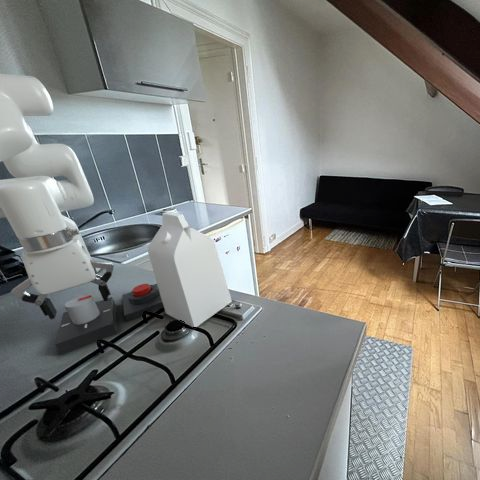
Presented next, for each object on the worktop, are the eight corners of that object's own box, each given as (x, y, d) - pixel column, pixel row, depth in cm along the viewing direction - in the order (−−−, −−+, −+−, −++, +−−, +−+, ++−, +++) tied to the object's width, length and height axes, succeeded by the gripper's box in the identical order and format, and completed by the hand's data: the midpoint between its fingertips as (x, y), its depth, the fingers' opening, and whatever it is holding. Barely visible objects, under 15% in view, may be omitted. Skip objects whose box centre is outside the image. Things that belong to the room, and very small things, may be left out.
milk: (232, 301, 71) (210, 209, 61) (194, 328, 62) (162, 225, 52) (203, 290, 77) (180, 205, 66) (165, 313, 68) (131, 218, 57)
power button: (134, 292, 72) (131, 287, 71) (150, 287, 74) (148, 282, 74) (135, 299, 69) (132, 293, 68) (152, 293, 71) (150, 287, 71)
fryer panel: (68, 322, 67) (63, 312, 65) (116, 305, 72) (111, 296, 71) (61, 355, 56) (54, 344, 55) (117, 333, 62) (112, 322, 60)
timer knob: (72, 327, 60) (62, 309, 58) (74, 317, 64) (65, 299, 61) (99, 318, 63) (90, 299, 60) (100, 308, 66) (91, 290, 64)
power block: (124, 299, 75) (120, 289, 73) (163, 286, 80) (159, 276, 79) (126, 321, 66) (121, 309, 64) (170, 304, 71) (166, 293, 70)
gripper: (99, 226, 63) (124, 286, 69) (-7, 247, 53) (34, 315, 60) (98, 233, 57) (125, 299, 63) (-21, 258, 48) (26, 332, 54)
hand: (81, 306), depth 61 cm, fingers open, 9 cm apart
